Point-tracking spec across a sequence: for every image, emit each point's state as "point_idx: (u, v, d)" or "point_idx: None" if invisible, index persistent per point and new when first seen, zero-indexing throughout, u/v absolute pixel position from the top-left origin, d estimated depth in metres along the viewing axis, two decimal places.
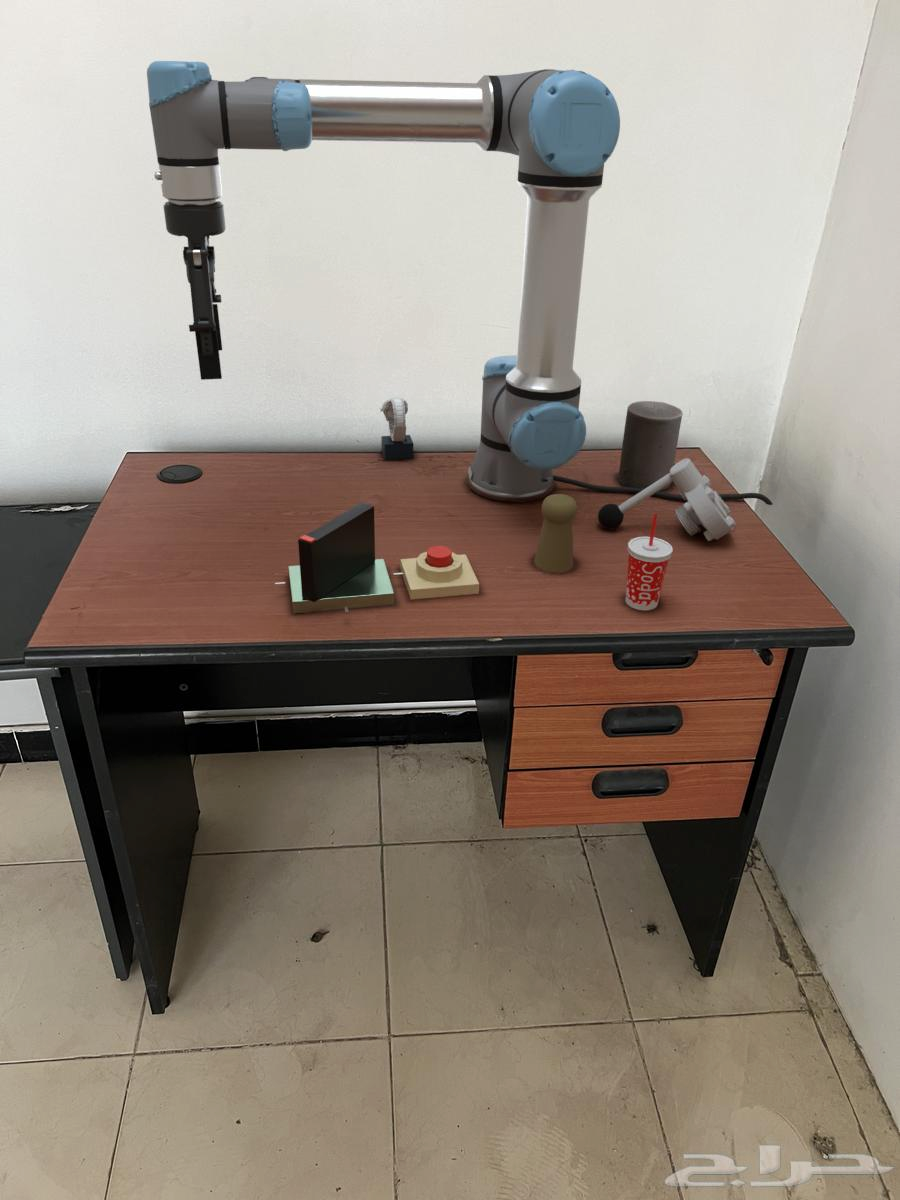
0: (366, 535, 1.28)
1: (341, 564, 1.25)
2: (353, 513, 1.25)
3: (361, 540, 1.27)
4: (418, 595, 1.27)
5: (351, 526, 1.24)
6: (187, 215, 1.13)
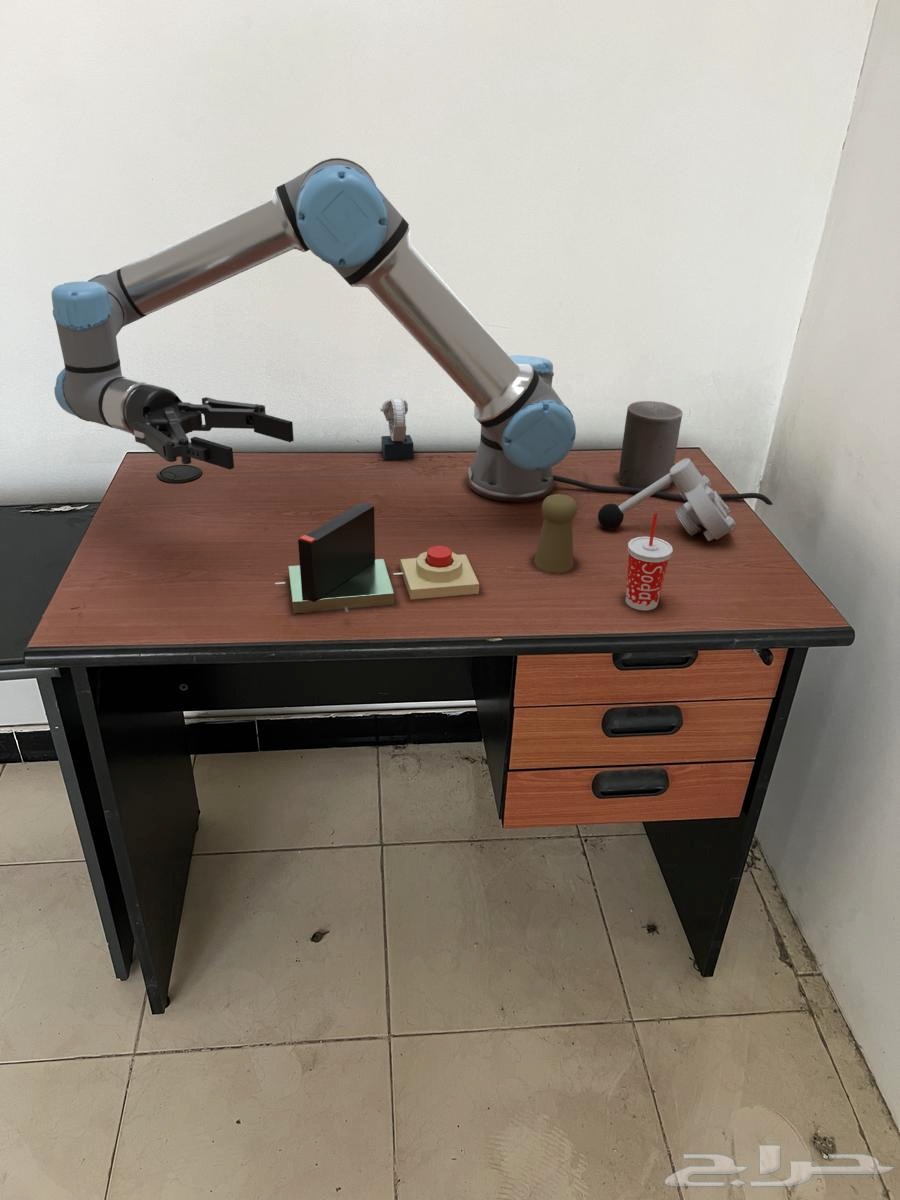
0: (366, 535, 1.28)
1: (341, 564, 1.25)
2: (353, 513, 1.25)
3: (361, 540, 1.27)
4: (418, 595, 1.27)
5: (351, 526, 1.24)
6: (131, 424, 1.23)
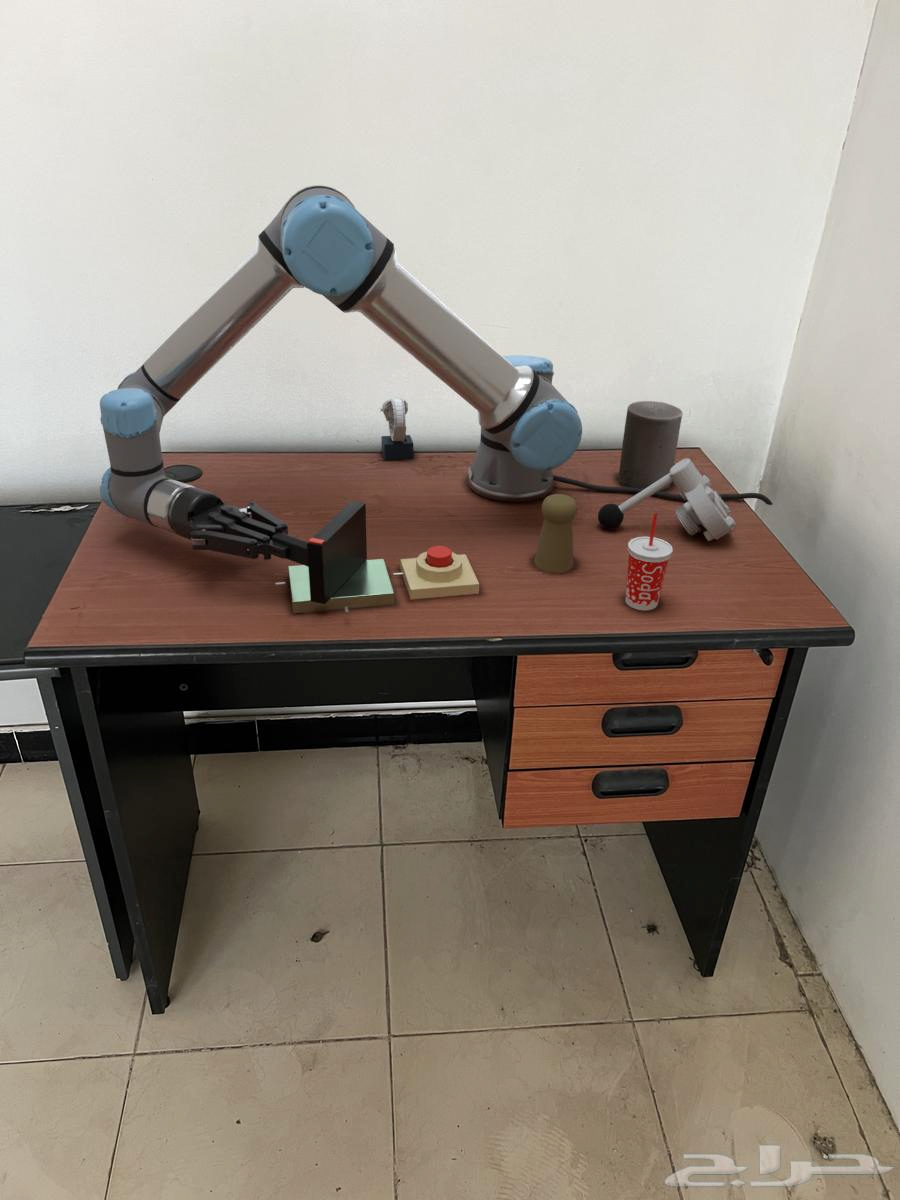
0: (360, 533, 1.28)
1: (343, 564, 1.25)
2: (349, 512, 1.25)
3: (357, 538, 1.27)
4: (418, 595, 1.27)
5: (350, 524, 1.24)
6: (175, 527, 1.28)
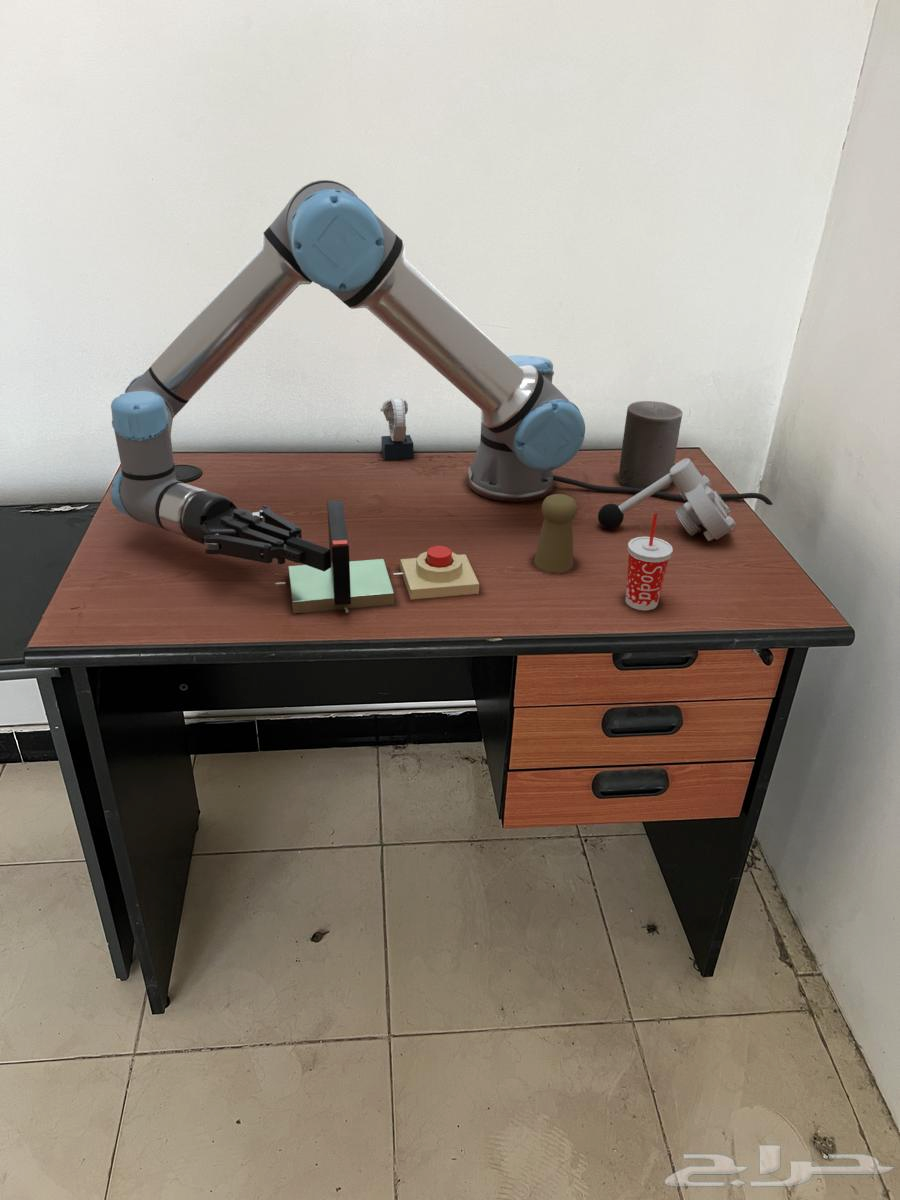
0: None
1: None
2: (337, 511, 1.25)
3: None
4: (418, 595, 1.27)
5: None
6: (187, 531, 1.27)
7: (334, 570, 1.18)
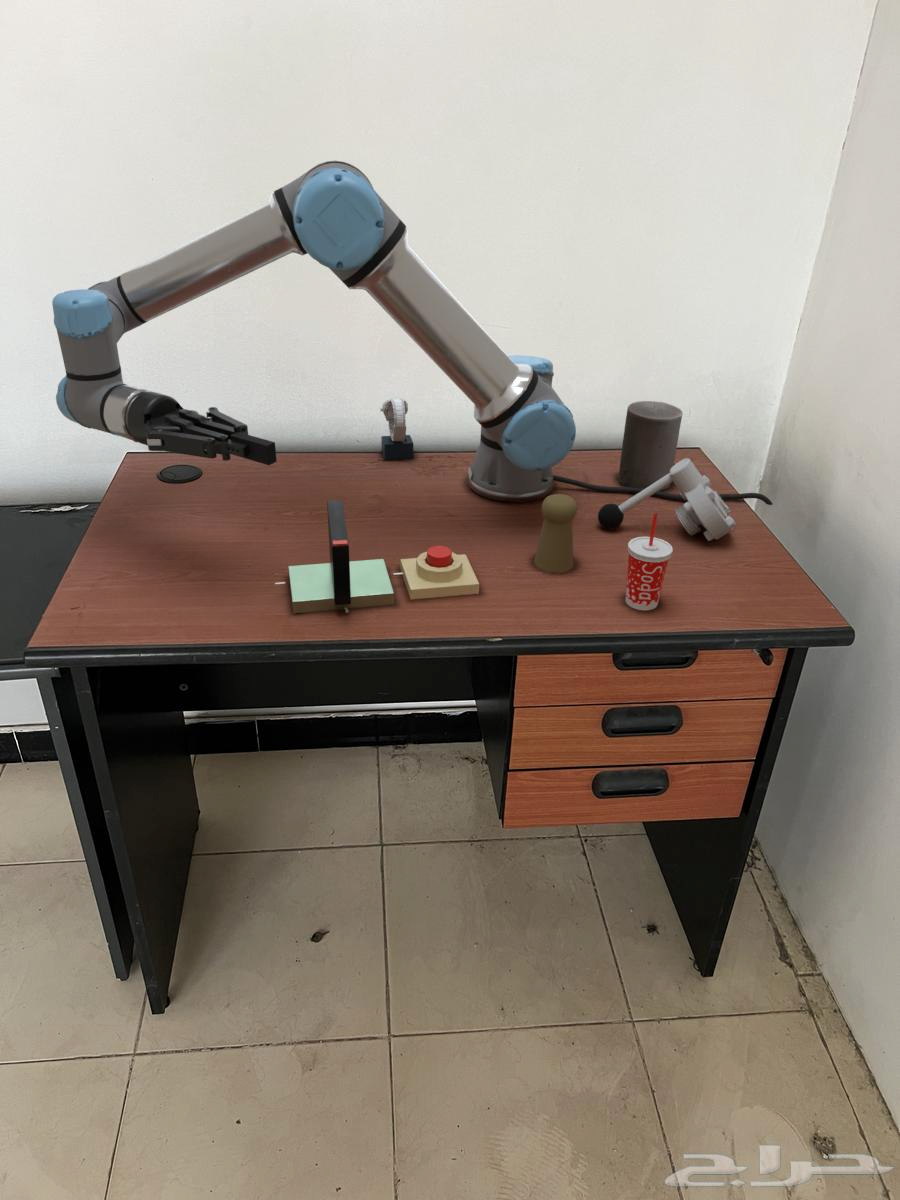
0: None
1: None
2: (337, 511, 1.25)
3: None
4: (418, 595, 1.27)
5: None
6: (132, 431, 1.24)
7: (334, 570, 1.18)
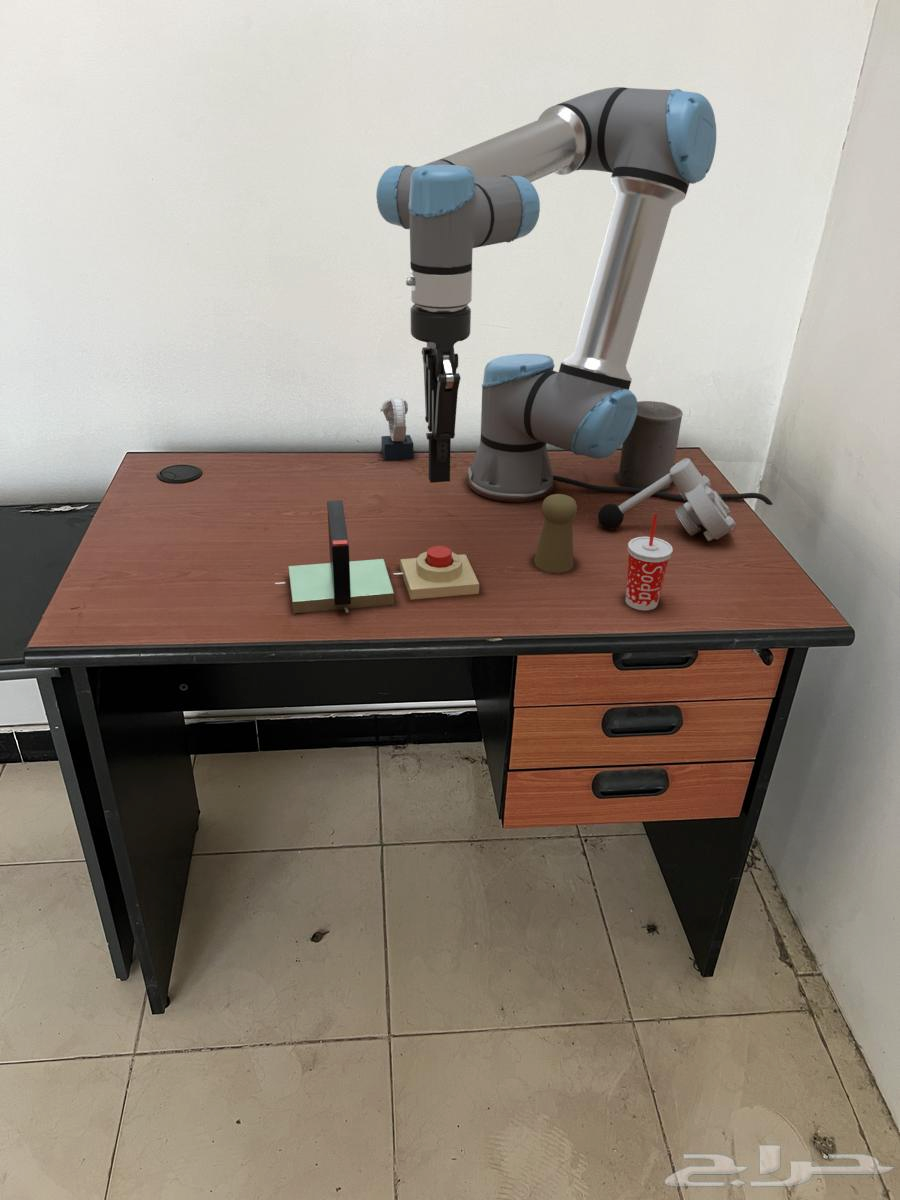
0: None
1: None
2: (337, 511, 1.25)
3: None
4: (418, 595, 1.27)
5: None
6: (440, 323, 1.08)
7: (334, 570, 1.18)
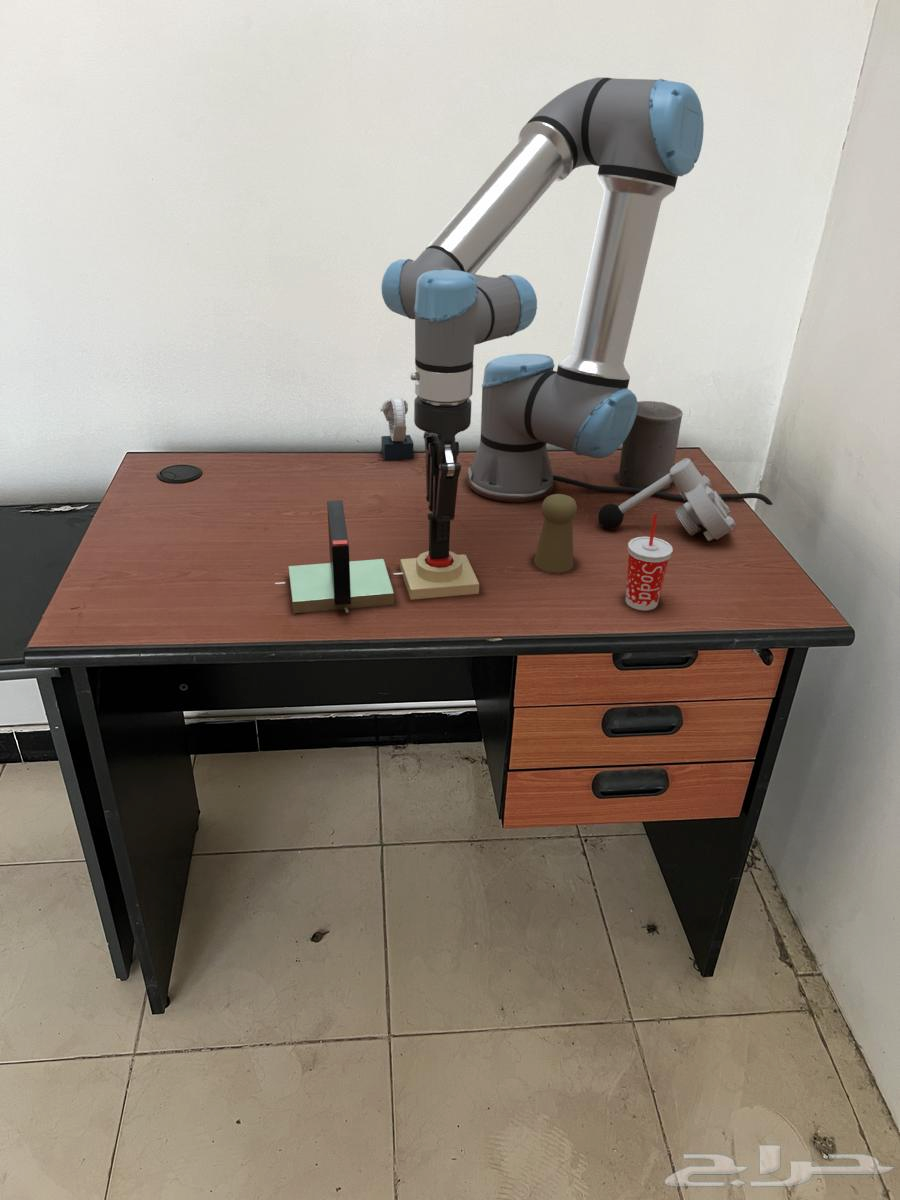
0: None
1: None
2: (337, 511, 1.25)
3: None
4: (418, 595, 1.27)
5: None
6: (443, 416, 1.14)
7: (334, 570, 1.18)
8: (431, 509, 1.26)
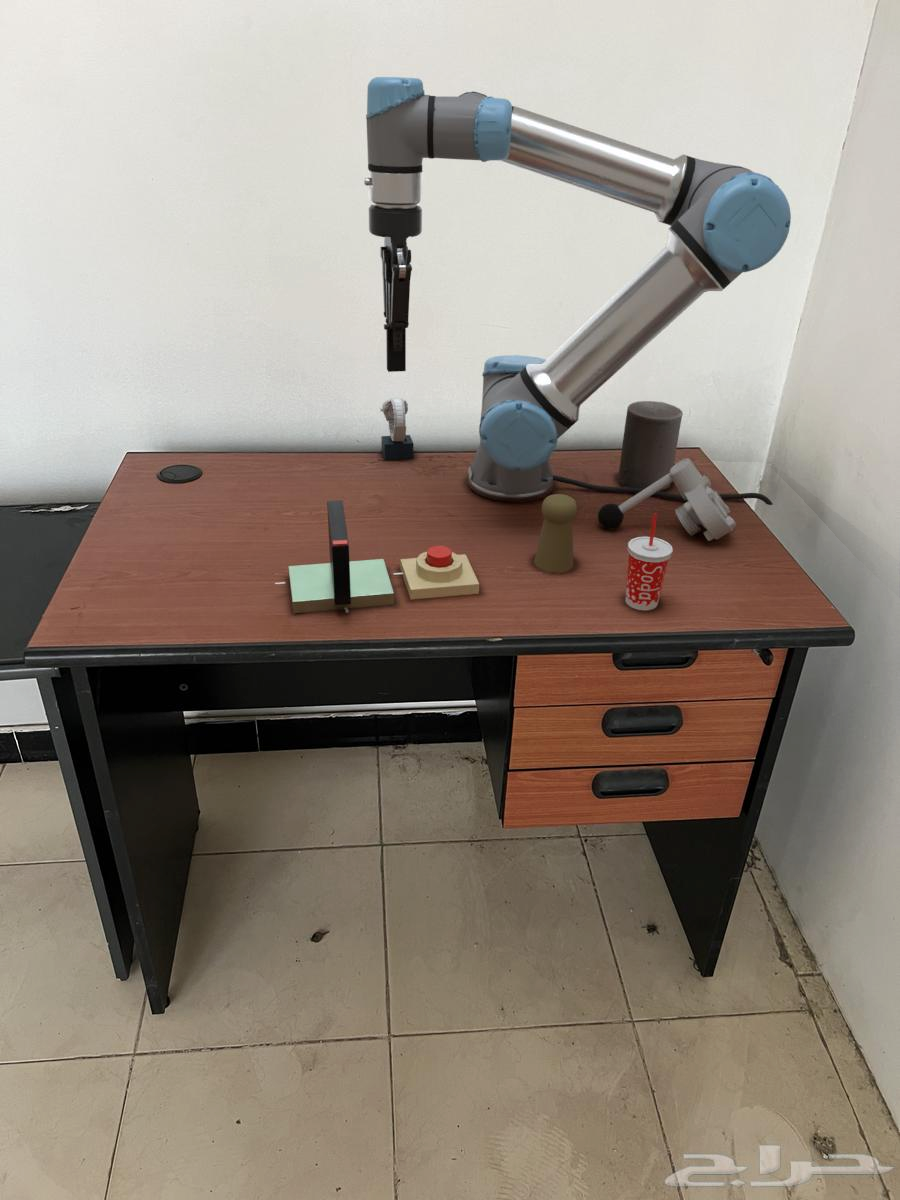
0: None
1: None
2: (337, 511, 1.25)
3: None
4: (418, 595, 1.27)
5: None
6: (394, 218, 1.23)
7: (334, 570, 1.18)
8: (388, 322, 1.34)
